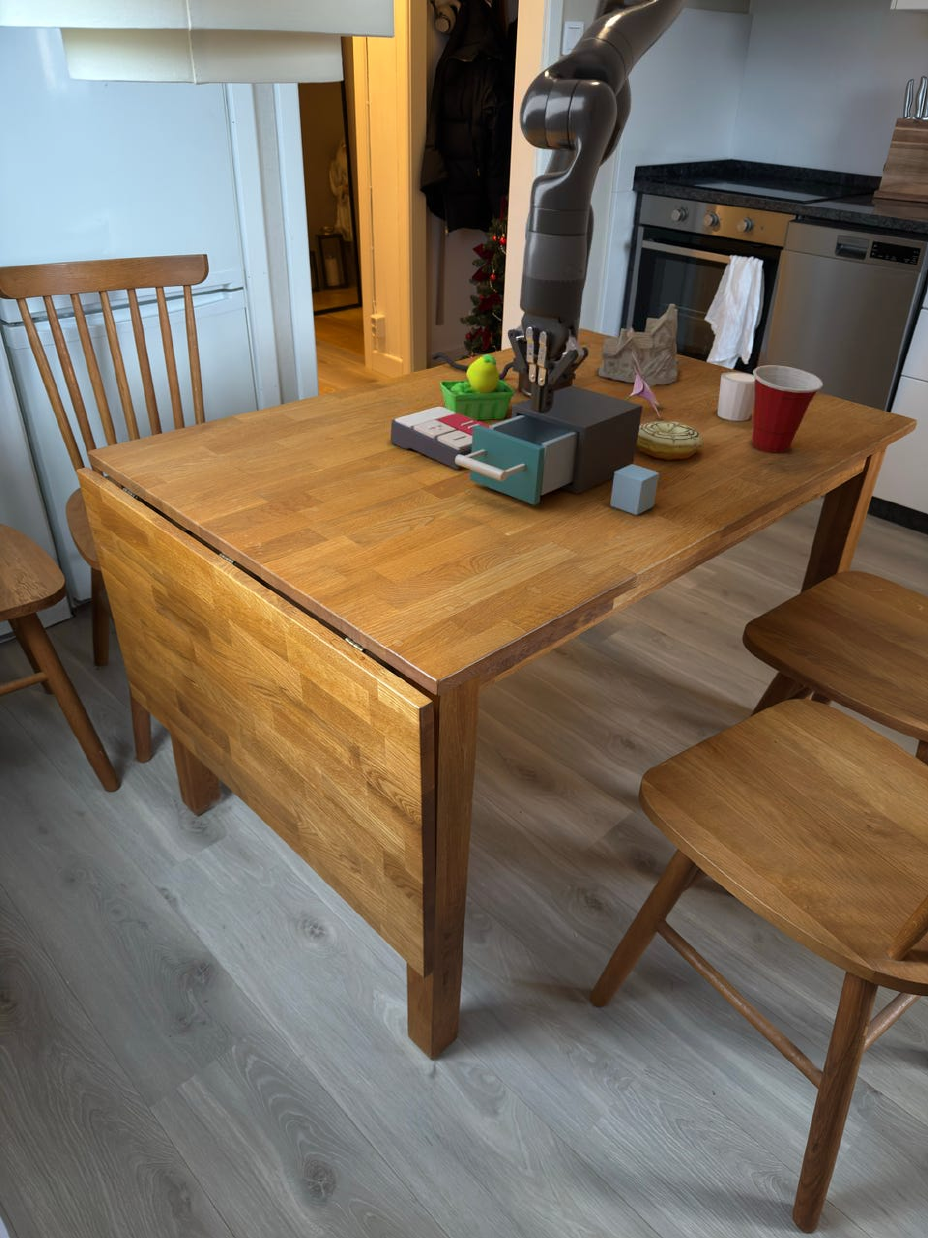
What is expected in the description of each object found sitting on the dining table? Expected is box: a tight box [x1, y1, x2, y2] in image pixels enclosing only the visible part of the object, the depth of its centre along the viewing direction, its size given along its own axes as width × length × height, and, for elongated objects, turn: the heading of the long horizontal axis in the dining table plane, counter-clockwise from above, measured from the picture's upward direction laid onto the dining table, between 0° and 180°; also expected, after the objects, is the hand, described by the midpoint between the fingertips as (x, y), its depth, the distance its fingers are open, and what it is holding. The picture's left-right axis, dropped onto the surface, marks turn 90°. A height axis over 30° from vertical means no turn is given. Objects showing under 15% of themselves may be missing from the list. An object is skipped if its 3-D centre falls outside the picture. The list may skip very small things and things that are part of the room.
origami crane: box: [624, 353, 661, 418], centre depth 158 cm, size 12×12×10 cm
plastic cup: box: [752, 364, 824, 453], centre depth 145 cm, size 11×11×12 cm
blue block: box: [609, 463, 660, 516], centre depth 123 cm, size 4×4×5 cm
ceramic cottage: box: [598, 303, 680, 386], centre depth 178 cm, size 16×16×15 cm
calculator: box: [390, 406, 490, 471], centre depth 139 cm, size 11×4×15 cm
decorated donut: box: [636, 420, 704, 461], centre depth 143 cm, size 10×11×4 cm
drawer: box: [455, 414, 580, 506], centre depth 125 cm, size 19×12×8 cm, turn 138°
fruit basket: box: [439, 353, 516, 421], centre depth 151 cm, size 11×9×11 cm
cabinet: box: [511, 384, 643, 495], centre depth 133 cm, size 15×13×10 cm
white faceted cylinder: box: [717, 371, 755, 422], centre depth 159 cm, size 7×7×7 cm
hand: (540, 410), depth 117 cm, fingers closed
